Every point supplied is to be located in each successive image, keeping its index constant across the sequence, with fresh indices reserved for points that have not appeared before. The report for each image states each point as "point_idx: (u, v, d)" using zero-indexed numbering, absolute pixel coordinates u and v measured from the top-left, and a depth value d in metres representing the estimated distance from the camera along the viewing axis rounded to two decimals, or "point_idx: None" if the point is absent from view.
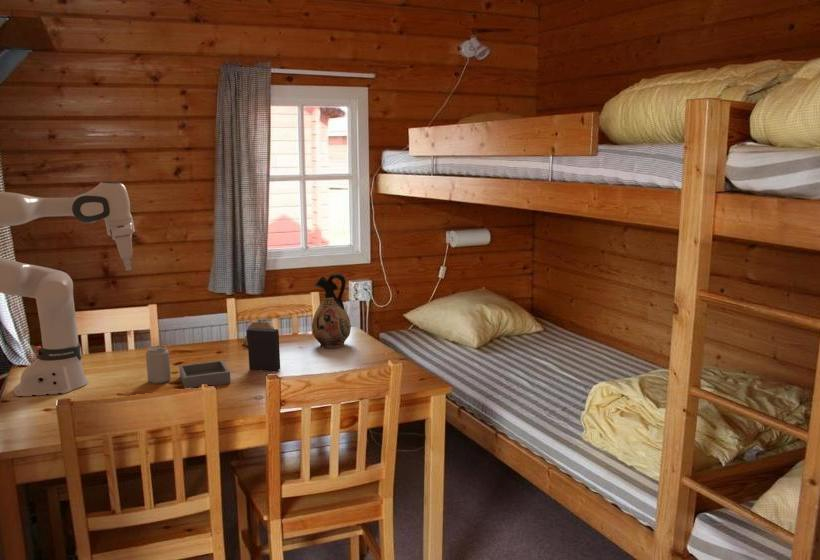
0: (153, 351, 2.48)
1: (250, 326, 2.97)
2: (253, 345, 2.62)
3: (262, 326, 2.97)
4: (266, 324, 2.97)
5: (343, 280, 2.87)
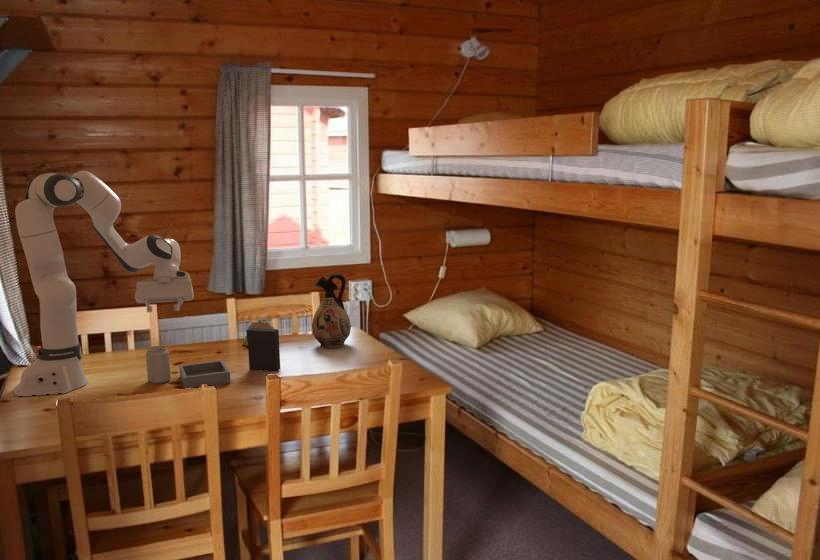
0: (153, 351, 2.48)
1: (250, 326, 2.97)
2: (253, 345, 2.62)
3: (262, 326, 2.97)
4: (266, 324, 2.97)
5: (343, 280, 2.87)
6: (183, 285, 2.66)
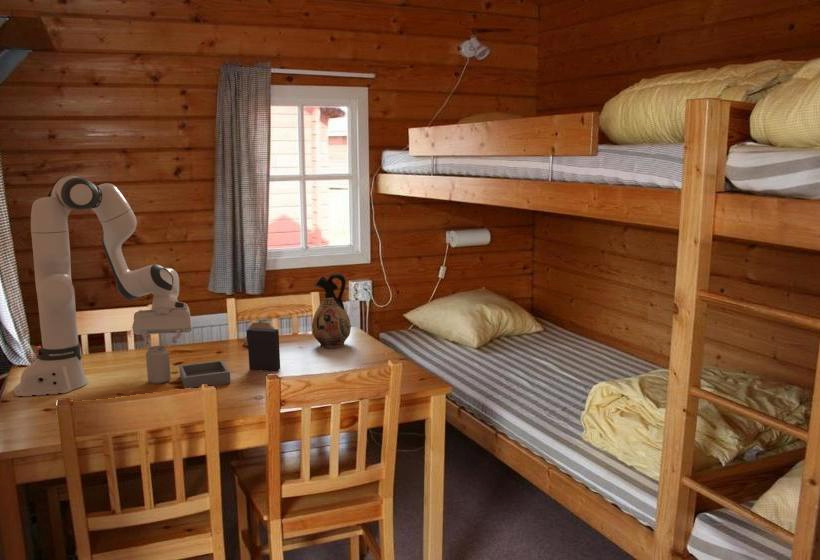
0: (153, 351, 2.48)
1: (251, 327, 2.96)
2: (253, 345, 2.62)
3: (263, 326, 2.96)
4: (267, 324, 2.97)
5: (343, 280, 2.87)
6: (182, 316, 2.62)
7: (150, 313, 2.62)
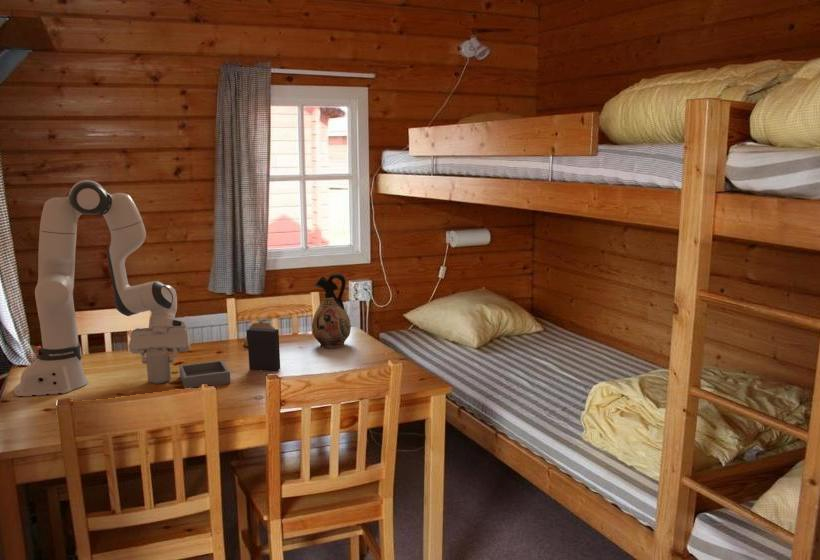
0: (153, 351, 2.48)
1: (251, 327, 2.96)
2: (253, 345, 2.62)
3: (263, 327, 2.96)
4: (267, 325, 2.96)
5: (343, 280, 2.87)
6: (179, 335, 2.56)
7: (147, 331, 2.56)
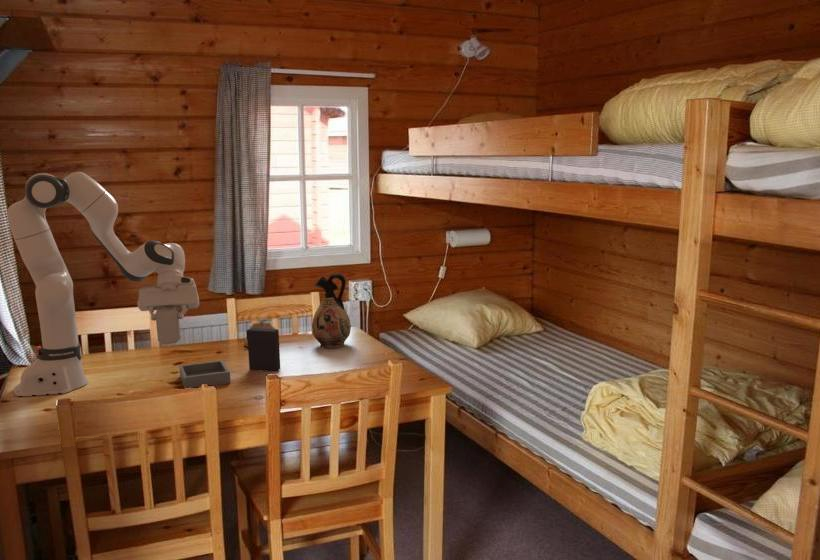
0: (162, 311, 2.46)
1: (252, 327, 2.95)
2: (253, 345, 2.62)
3: (264, 327, 2.95)
4: (268, 325, 2.96)
5: (343, 280, 2.87)
6: (188, 292, 2.54)
7: (155, 289, 2.54)
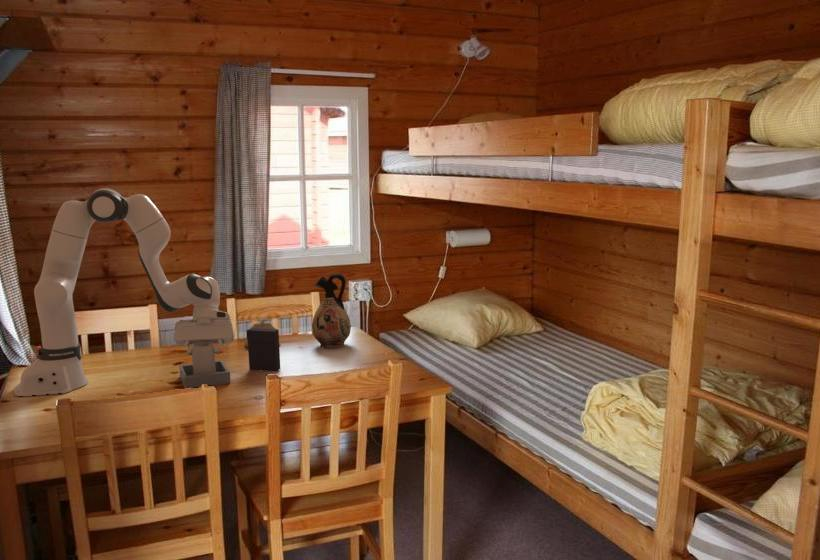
0: (199, 347, 2.49)
1: None
2: (253, 345, 2.62)
3: (265, 327, 2.95)
4: (269, 325, 2.96)
5: (343, 280, 2.87)
6: (223, 326, 2.56)
7: (191, 323, 2.56)
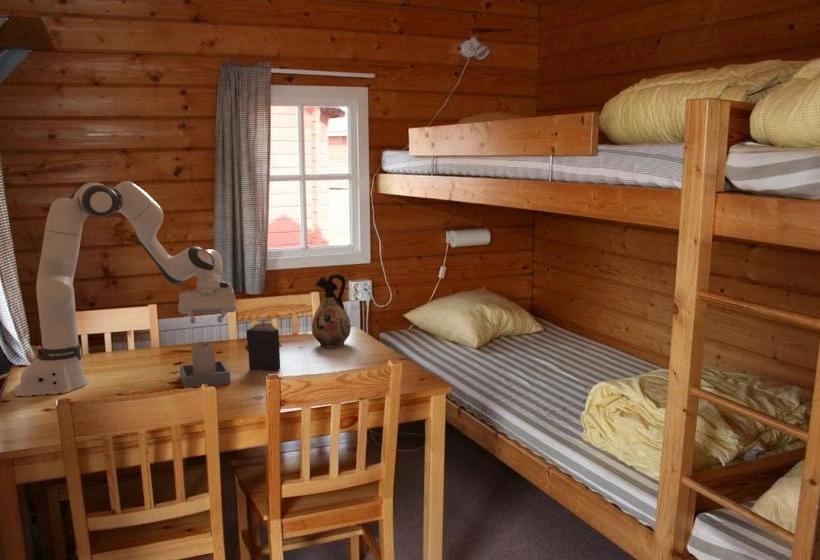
0: (199, 347, 2.49)
1: None
2: (253, 345, 2.62)
3: (266, 327, 2.94)
4: (270, 325, 2.95)
5: (343, 280, 2.87)
6: (226, 296, 2.66)
7: (195, 293, 2.66)
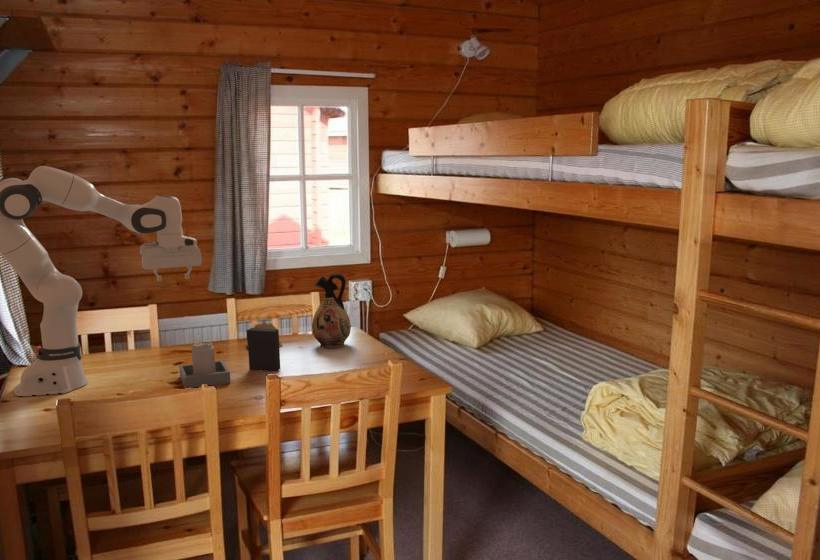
0: (199, 347, 2.49)
1: None
2: (253, 345, 2.62)
3: (267, 328, 2.94)
4: (271, 326, 2.95)
5: (343, 280, 2.87)
6: (192, 252, 2.60)
7: (158, 249, 2.55)
